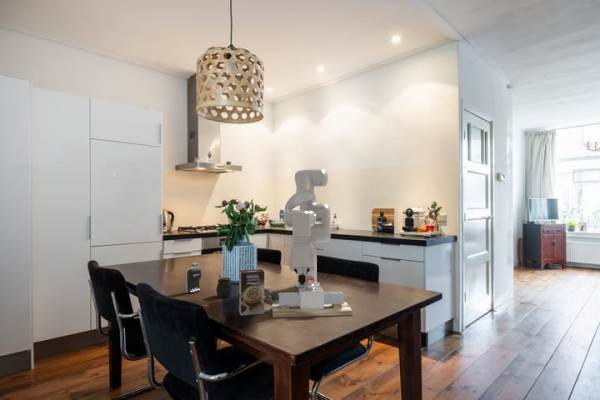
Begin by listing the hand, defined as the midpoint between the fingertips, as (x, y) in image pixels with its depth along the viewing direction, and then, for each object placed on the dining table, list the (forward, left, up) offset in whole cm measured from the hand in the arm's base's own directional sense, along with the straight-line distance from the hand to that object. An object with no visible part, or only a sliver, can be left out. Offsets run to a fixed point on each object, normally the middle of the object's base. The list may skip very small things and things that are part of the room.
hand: (301, 284), depth 147 cm
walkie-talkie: (-9, -15, -9) cm, 19 cm away
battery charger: (-24, -49, -8) cm, 55 cm away
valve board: (+11, +3, -8) cm, 14 cm away
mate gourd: (-16, -34, -8) cm, 39 cm away
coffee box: (+10, -20, -8) cm, 24 cm away
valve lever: (+5, +3, +1) cm, 6 cm away
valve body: (+11, +3, -7) cm, 13 cm away
